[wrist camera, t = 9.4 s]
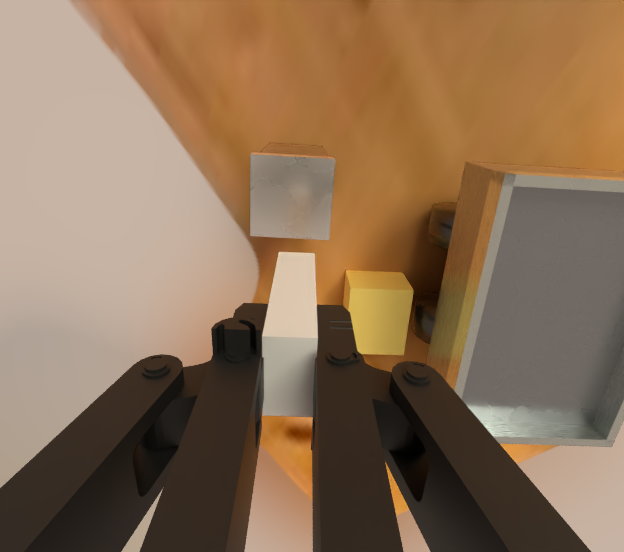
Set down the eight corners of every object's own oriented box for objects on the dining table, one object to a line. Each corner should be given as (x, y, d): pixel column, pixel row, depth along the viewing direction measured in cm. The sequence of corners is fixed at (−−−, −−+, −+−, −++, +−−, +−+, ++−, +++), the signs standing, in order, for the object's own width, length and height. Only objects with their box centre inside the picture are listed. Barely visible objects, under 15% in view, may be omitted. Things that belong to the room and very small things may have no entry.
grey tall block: (267, 139, 31) (250, 154, 21) (324, 143, 31) (335, 159, 21) (266, 197, 33) (250, 236, 23) (321, 200, 33) (329, 240, 23)
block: (345, 269, 35) (350, 288, 32) (402, 271, 36) (413, 290, 32) (340, 329, 38) (344, 353, 34) (393, 331, 38) (403, 355, 34)
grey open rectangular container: (430, 152, 32) (495, 173, 21) (592, 162, 32) (735, 187, 21) (398, 349, 38) (435, 441, 28) (532, 355, 39) (618, 447, 28)
